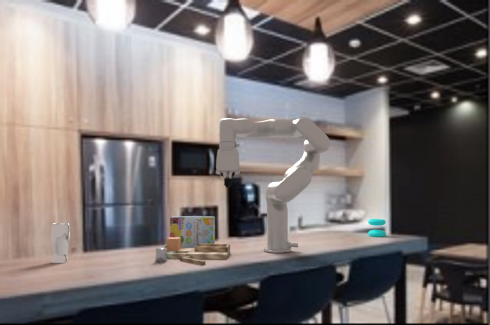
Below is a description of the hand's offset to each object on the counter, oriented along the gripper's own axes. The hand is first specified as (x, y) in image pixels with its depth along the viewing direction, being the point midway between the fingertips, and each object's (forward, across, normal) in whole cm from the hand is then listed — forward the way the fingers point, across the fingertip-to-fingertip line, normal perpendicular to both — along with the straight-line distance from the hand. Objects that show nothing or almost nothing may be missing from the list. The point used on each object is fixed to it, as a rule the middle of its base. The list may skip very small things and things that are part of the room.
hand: (227, 187), depth 186 cm
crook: (+29, +10, +21) cm, 38 cm away
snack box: (+29, +19, -16) cm, 38 cm away
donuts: (+29, -81, -69) cm, 110 cm away
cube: (+27, +23, +4) cm, 36 cm away
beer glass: (+29, +63, +26) cm, 74 cm away
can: (+29, +24, +21) cm, 43 cm away
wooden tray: (+29, +13, +7) cm, 33 cm away
